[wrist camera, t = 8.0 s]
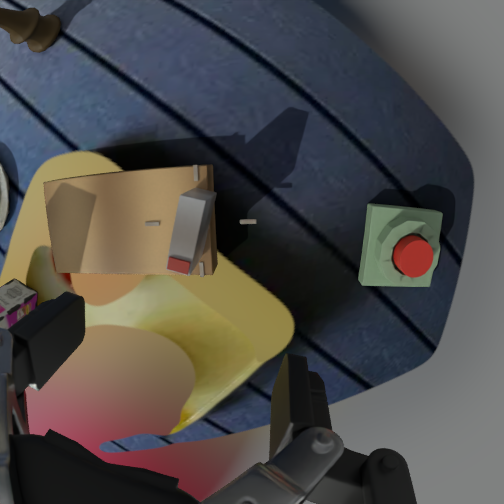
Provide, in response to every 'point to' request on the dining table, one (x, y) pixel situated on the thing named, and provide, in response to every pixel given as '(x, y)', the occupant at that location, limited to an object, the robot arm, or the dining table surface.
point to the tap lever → (190, 230)
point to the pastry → (3, 196)
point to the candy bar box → (15, 302)
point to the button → (413, 256)
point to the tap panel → (124, 220)
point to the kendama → (30, 27)
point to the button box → (386, 238)
